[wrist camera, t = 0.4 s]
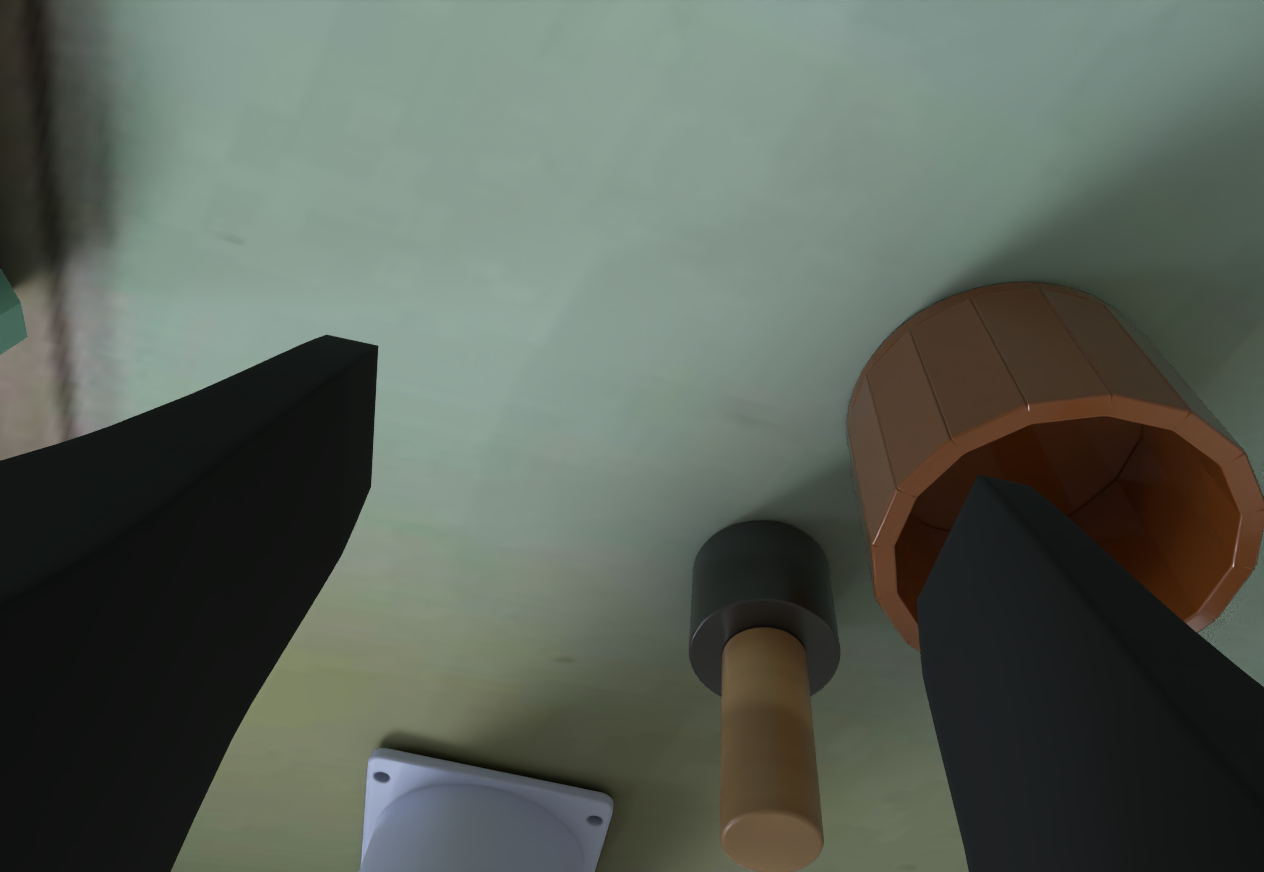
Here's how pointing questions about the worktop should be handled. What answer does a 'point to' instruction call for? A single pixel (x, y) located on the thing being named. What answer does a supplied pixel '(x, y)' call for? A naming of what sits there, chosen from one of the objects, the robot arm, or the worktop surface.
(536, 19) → the worktop surface
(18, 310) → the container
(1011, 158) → the worktop surface
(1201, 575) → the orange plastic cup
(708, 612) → the brush
